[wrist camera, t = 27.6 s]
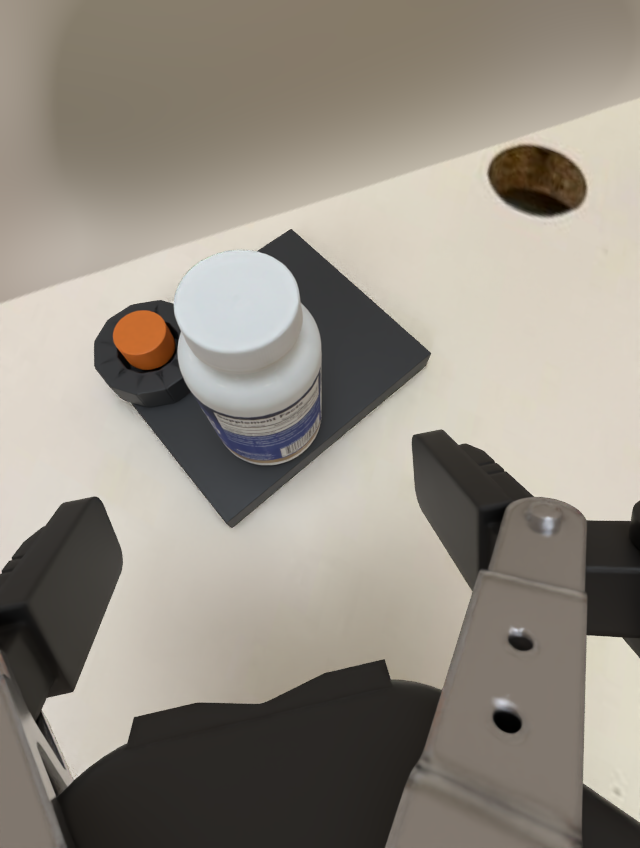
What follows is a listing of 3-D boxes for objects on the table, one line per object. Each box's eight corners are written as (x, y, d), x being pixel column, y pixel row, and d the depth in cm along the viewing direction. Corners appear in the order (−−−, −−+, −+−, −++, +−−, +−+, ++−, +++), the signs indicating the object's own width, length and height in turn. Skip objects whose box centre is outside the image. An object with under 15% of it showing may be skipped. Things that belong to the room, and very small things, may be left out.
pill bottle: (220, 373, 24) (158, 234, 15) (319, 370, 24) (318, 229, 15) (214, 470, 22) (139, 376, 13) (323, 466, 22) (325, 370, 13)
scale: (227, 531, 22) (214, 521, 19) (100, 369, 26) (73, 340, 23) (426, 365, 26) (438, 336, 23) (290, 242, 29) (286, 204, 26)
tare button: (143, 380, 22) (130, 364, 21) (115, 346, 23) (102, 329, 22) (185, 350, 23) (176, 333, 22) (157, 319, 24) (147, 300, 22)
